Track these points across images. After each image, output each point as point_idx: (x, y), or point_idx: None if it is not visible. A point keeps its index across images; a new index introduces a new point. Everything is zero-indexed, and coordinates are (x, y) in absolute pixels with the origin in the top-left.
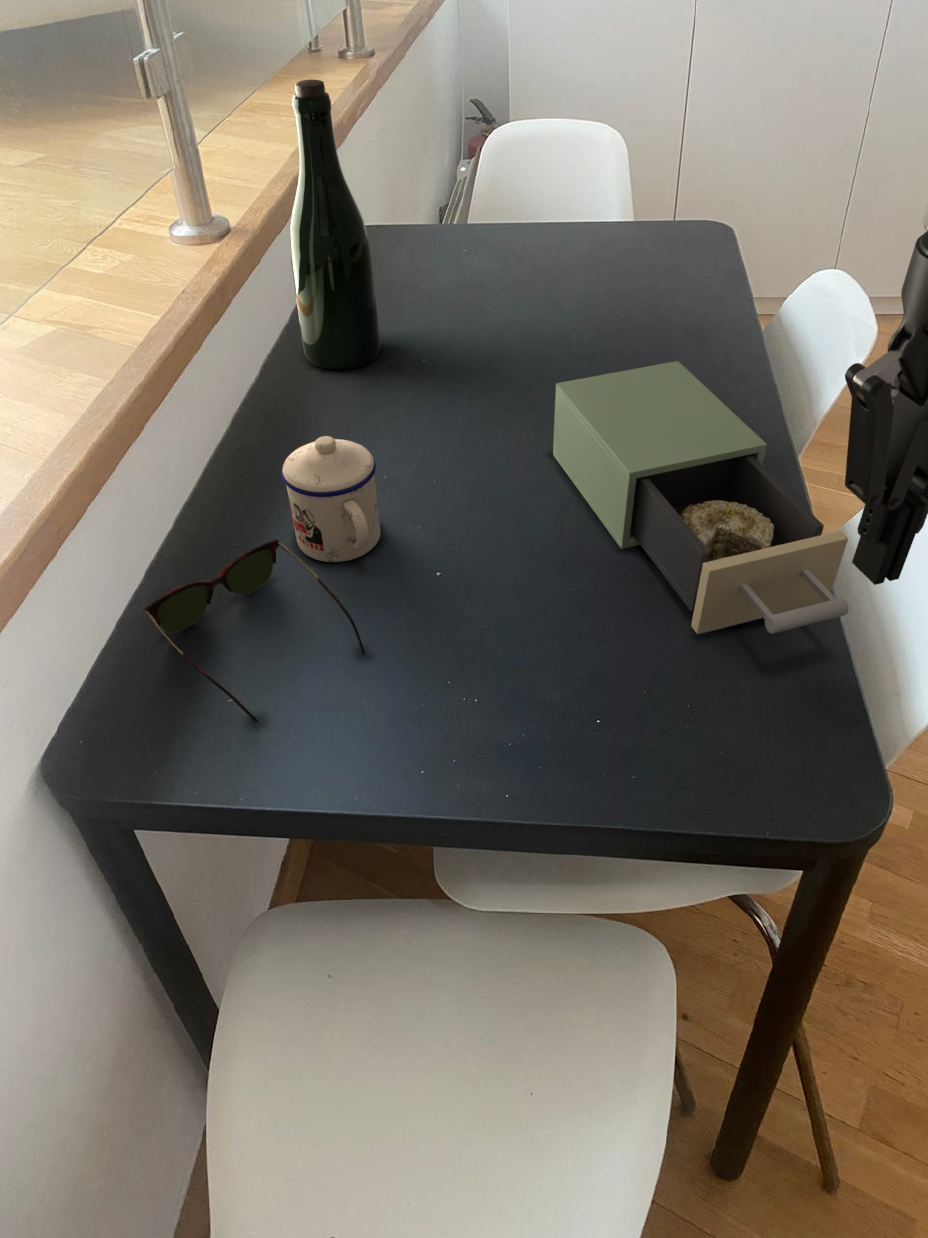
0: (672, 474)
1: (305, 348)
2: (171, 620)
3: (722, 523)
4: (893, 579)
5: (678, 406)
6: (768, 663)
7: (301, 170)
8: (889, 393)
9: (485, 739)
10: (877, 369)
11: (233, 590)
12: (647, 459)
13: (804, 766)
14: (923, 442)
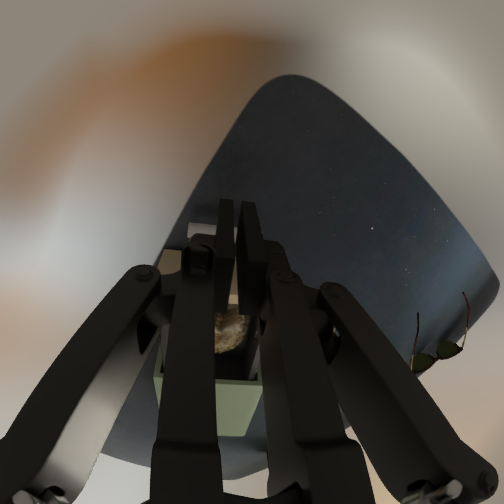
0: (217, 375)
1: None
2: (450, 344)
3: (215, 334)
4: (228, 199)
5: None
6: None
7: None
8: (465, 484)
9: (419, 244)
10: None
11: (426, 355)
12: (243, 391)
13: (290, 131)
14: (293, 381)
